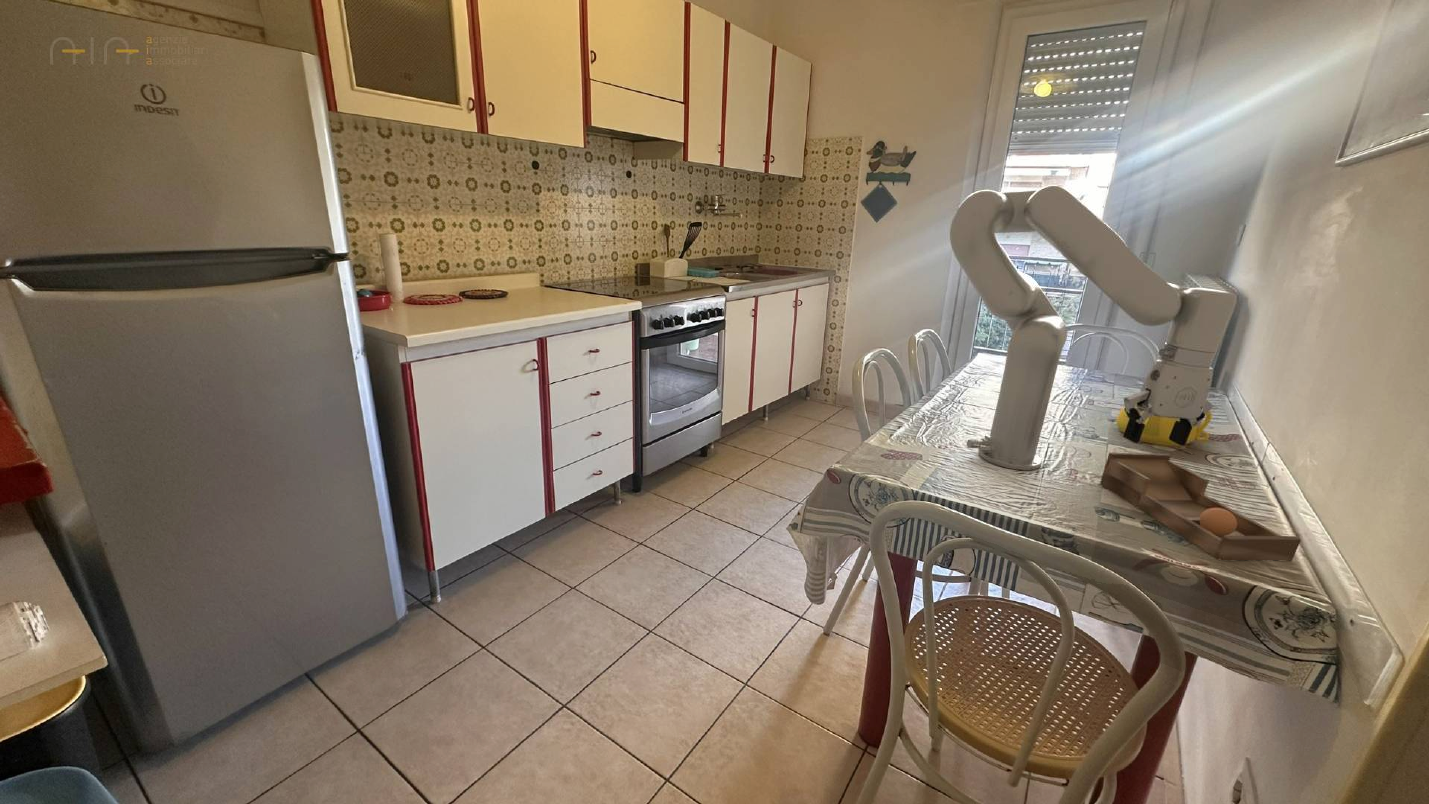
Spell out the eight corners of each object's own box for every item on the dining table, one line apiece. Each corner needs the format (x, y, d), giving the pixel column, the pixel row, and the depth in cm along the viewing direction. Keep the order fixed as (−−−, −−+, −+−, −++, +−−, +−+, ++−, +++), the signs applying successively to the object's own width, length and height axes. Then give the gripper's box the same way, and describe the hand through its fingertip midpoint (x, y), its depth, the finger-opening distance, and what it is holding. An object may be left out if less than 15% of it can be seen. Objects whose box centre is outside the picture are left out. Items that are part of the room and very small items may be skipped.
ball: (1190, 530, 99) (1216, 540, 94) (1194, 504, 98) (1220, 512, 94) (1215, 530, 99) (1242, 540, 95) (1219, 504, 99) (1246, 512, 94)
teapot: (1120, 420, 155) (1133, 376, 151) (1207, 441, 143) (1224, 393, 139) (1105, 437, 142) (1119, 389, 137) (1200, 462, 129) (1219, 410, 125)
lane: (1099, 483, 115) (1109, 452, 113) (1156, 484, 116) (1167, 453, 114) (1220, 560, 90) (1235, 522, 87) (1291, 560, 91) (1308, 523, 88)
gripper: (1159, 359, 99) (1127, 447, 105) (1248, 365, 100) (1211, 451, 106) (1127, 348, 106) (1098, 431, 112) (1210, 354, 107) (1177, 436, 113)
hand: (1153, 441), depth 109 cm, fingers open, 9 cm apart
